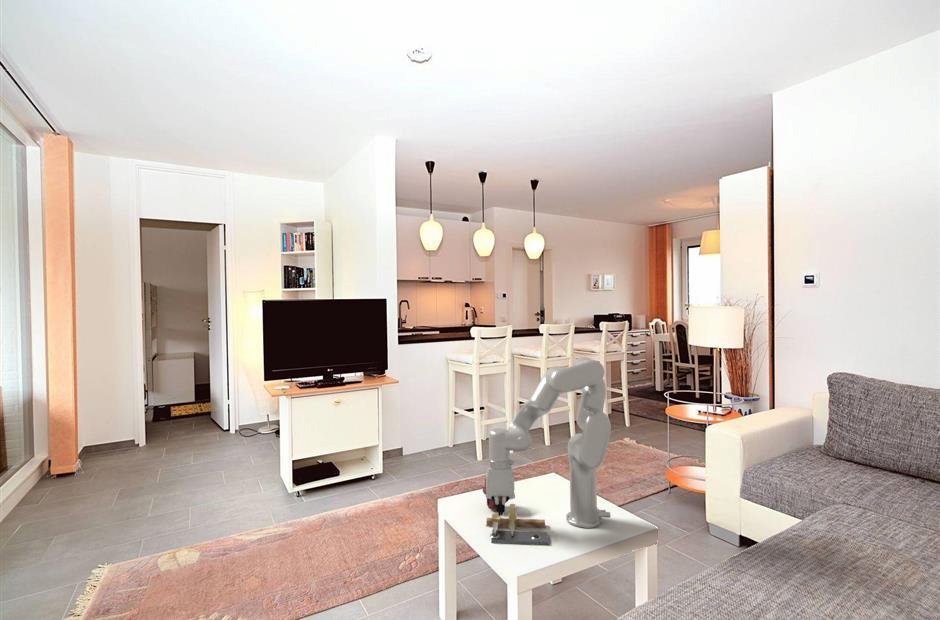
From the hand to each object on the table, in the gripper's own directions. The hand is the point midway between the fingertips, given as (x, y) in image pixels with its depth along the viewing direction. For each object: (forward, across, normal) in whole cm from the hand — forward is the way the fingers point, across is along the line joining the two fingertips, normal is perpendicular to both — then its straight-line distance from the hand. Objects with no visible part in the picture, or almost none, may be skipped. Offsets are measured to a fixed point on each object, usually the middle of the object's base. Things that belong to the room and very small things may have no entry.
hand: (500, 514), depth 166 cm
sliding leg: (+4, -4, +4) cm, 7 cm away
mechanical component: (+4, +3, -14) cm, 15 cm away
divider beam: (+4, -5, +4) cm, 8 cm away
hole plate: (+4, -7, +10) cm, 12 cm away
